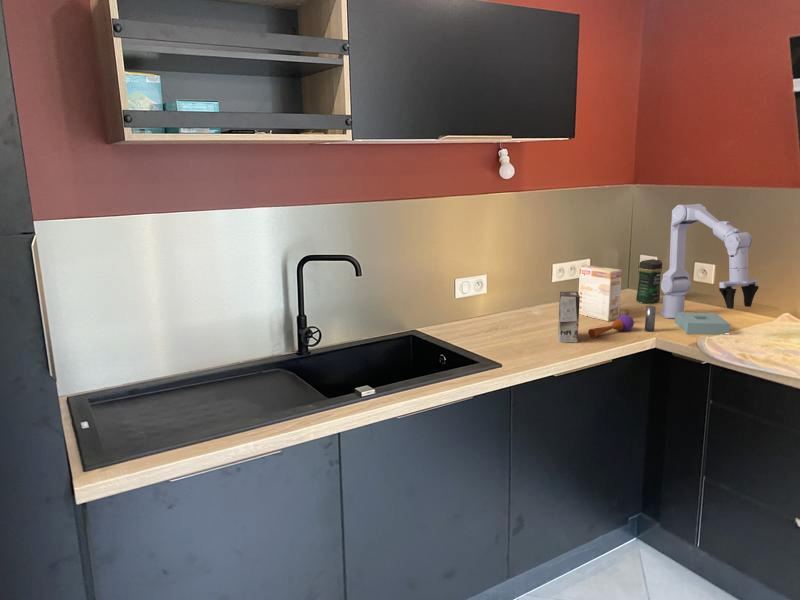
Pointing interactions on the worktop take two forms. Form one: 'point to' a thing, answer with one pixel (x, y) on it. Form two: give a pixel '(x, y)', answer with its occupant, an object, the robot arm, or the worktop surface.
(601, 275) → the coffeecake box
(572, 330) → the coffee box
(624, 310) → the short pin
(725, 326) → the hole block
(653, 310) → the long pin
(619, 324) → the kendama
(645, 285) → the coffee jar
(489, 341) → the worktop surface
